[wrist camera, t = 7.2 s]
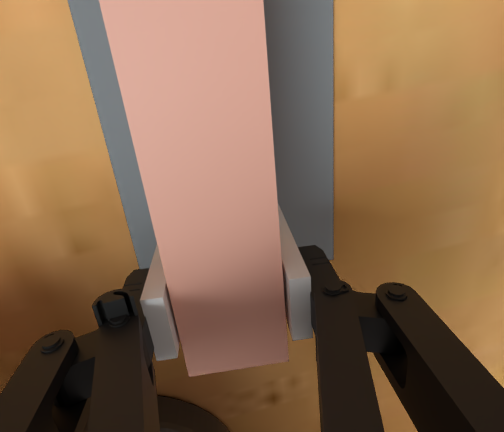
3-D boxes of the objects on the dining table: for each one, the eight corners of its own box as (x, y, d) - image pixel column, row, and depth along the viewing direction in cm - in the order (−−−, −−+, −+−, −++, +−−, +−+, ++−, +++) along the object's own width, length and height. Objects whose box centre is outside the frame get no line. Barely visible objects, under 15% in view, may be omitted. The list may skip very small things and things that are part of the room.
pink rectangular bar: (279, 326, 16) (288, 361, 14) (191, 340, 16) (189, 376, 14) (232, -257, 8) (239, -342, 7) (61, -248, 8) (18, -332, 6)
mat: (331, 255, 21) (333, 259, 21) (145, 281, 21) (144, 285, 20) (330, -51, 15) (332, -54, 15) (63, -27, 14) (59, -29, 14)
